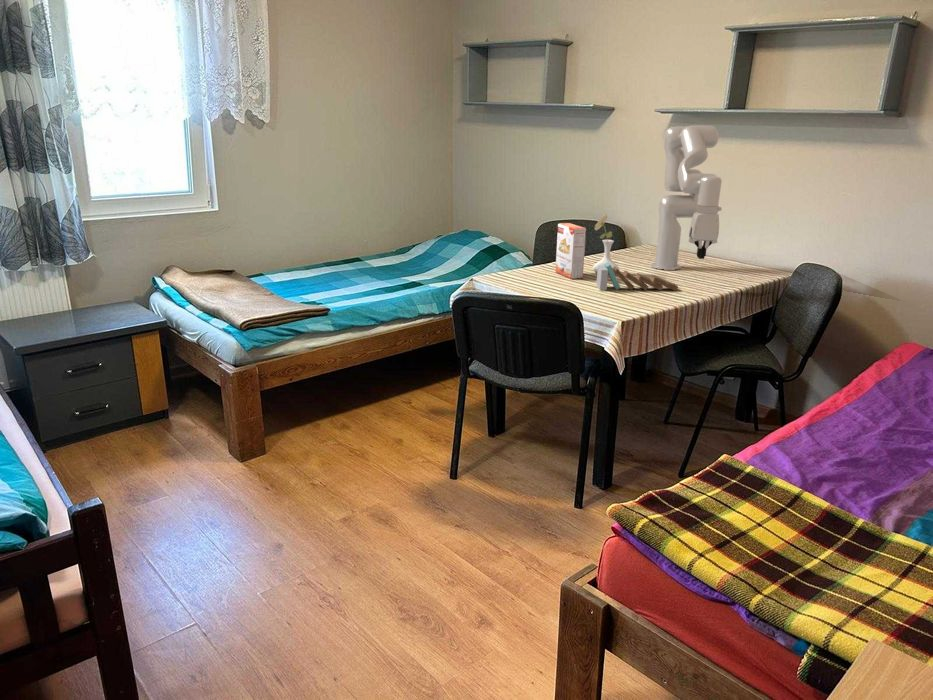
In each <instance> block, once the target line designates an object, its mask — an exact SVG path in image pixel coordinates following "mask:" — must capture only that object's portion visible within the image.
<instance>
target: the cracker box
mask: <svg viewBox="0 0 933 700" xmlns="http://www.w3.org/2000/svg"><path fill="white" fill-rule="evenodd" d="M586 235H587V228H586V227H584V226H580V225H577V224H573V223H571V222H560V223H558V224H557V236H556V254H555V257H556V258H555V273H557V274H559V275H561V276H563V277H564V278H568V279H570V280H576V279H577V278H579V279H583V278H584V267H585V266H584V264H585V254H586V253H585V251H586V249H585V248H586V239H587V238H586V237H587V236H586ZM577 280H578V279H577Z"/></svg>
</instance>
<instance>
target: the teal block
mask: <svg viewBox="0 0 933 700" xmlns="http://www.w3.org/2000/svg"><path fill="white" fill-rule="evenodd" d="M604 266H605V267H606V268H607V269H608V277H609V279H610V281H611V283H612V287H613V288H614V290H615V291H617V290H619V289H621V286H620V283H619V281H618V279H617V275H616V274H615V273H614V271H613V269H612V267H611V265H610V264H609V262H608V263H606V264H604Z"/></svg>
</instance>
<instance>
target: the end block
mask: <svg viewBox="0 0 933 700" xmlns="http://www.w3.org/2000/svg"><path fill="white" fill-rule="evenodd" d="M596 274H597V275H596V285H597V286H596V287H597V289H598V288H599V289H598V290H599V291H600V290H607V289H608V280H609V279H608V277H609V275H608V269H607V268H606V267H605V266H598V271H597V272H596Z"/></svg>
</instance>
